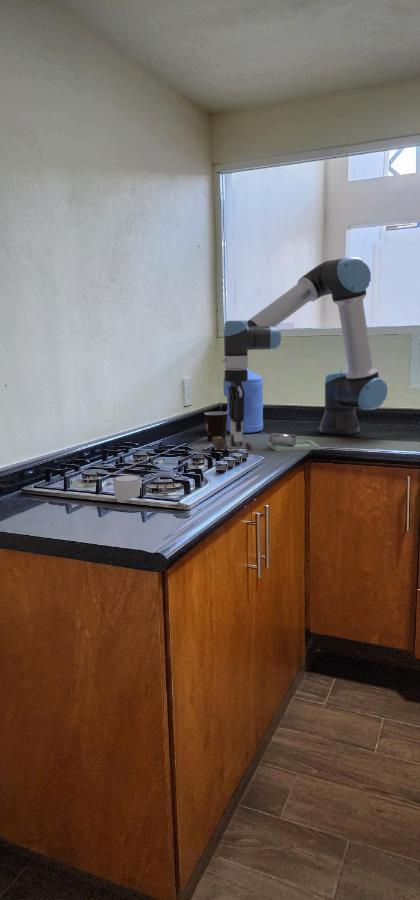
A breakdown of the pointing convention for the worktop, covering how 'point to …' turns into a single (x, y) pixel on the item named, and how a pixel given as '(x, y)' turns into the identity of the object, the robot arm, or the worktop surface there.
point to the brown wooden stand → (221, 444)
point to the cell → (232, 443)
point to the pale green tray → (297, 446)
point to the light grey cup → (126, 487)
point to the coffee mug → (215, 424)
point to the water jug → (249, 403)
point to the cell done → (282, 439)
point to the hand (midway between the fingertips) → (236, 439)
